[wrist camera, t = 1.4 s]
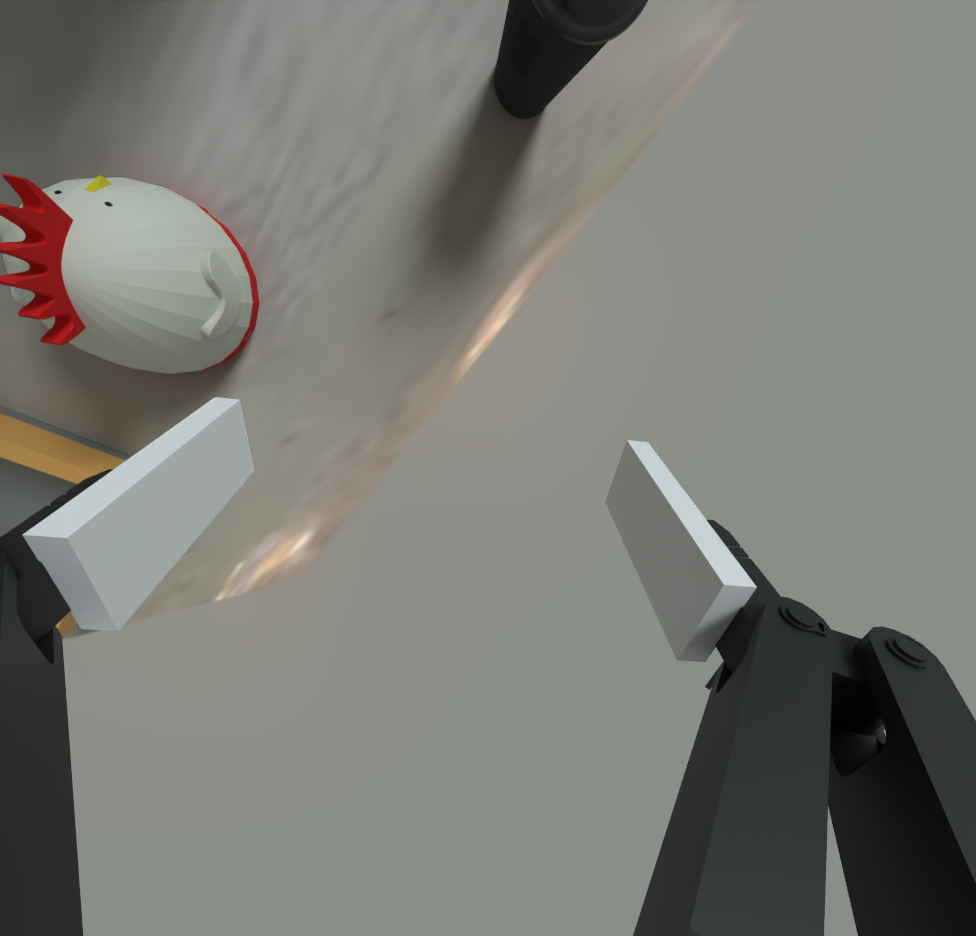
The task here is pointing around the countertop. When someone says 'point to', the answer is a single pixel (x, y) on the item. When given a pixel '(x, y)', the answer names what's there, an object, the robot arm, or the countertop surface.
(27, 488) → the chute bracket
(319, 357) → the countertop surface
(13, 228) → the kitchen timer
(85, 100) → the countertop surface
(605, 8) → the drinking cup
